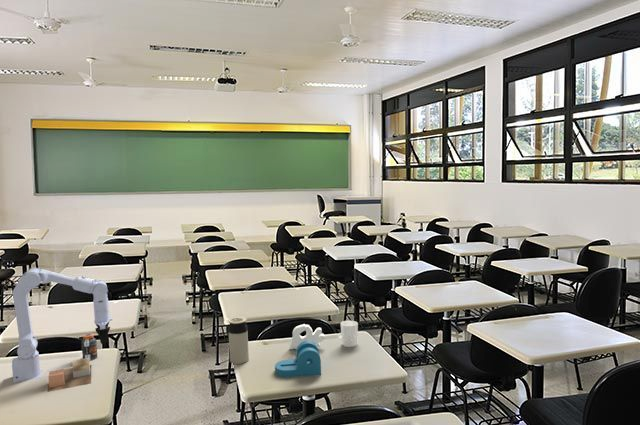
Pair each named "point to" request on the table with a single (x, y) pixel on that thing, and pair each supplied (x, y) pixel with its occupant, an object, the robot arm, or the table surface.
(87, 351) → the pill bottle
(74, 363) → the slab top
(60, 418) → the table surface
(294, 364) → the camera mount
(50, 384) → the block
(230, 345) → the travel mug
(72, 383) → the board
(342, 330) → the white cup
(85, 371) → the slab bottom
